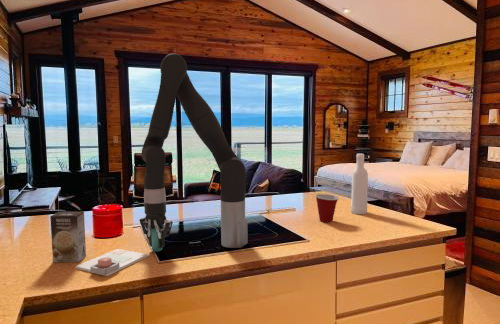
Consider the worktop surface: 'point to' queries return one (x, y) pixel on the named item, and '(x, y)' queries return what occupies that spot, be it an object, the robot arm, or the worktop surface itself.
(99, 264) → the button
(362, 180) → the bottle
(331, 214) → the plastic cup
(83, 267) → the board
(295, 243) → the worktop surface
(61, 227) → the coffee box
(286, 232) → the worktop surface
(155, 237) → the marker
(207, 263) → the worktop surface
